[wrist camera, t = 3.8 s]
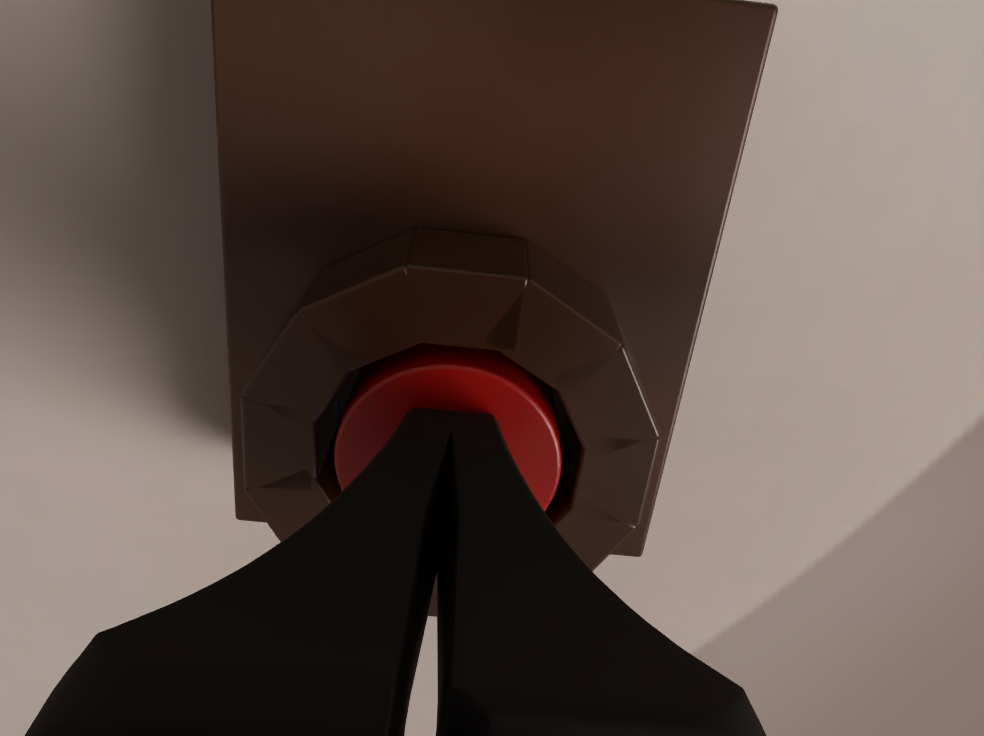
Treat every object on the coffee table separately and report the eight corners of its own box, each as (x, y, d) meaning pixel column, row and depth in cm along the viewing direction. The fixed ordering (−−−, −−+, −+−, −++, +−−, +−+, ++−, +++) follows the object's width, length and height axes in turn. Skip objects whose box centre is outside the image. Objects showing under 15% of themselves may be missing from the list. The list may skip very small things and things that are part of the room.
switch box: (624, 501, 18) (656, 637, 14) (265, 467, 17) (203, 597, 14) (738, -1, 13) (829, 11, 9) (250, -61, 13) (153, -72, 9)
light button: (540, 503, 15) (545, 566, 13) (349, 485, 15) (330, 546, 13) (570, 329, 13) (579, 378, 12) (354, 307, 13) (334, 352, 11)
